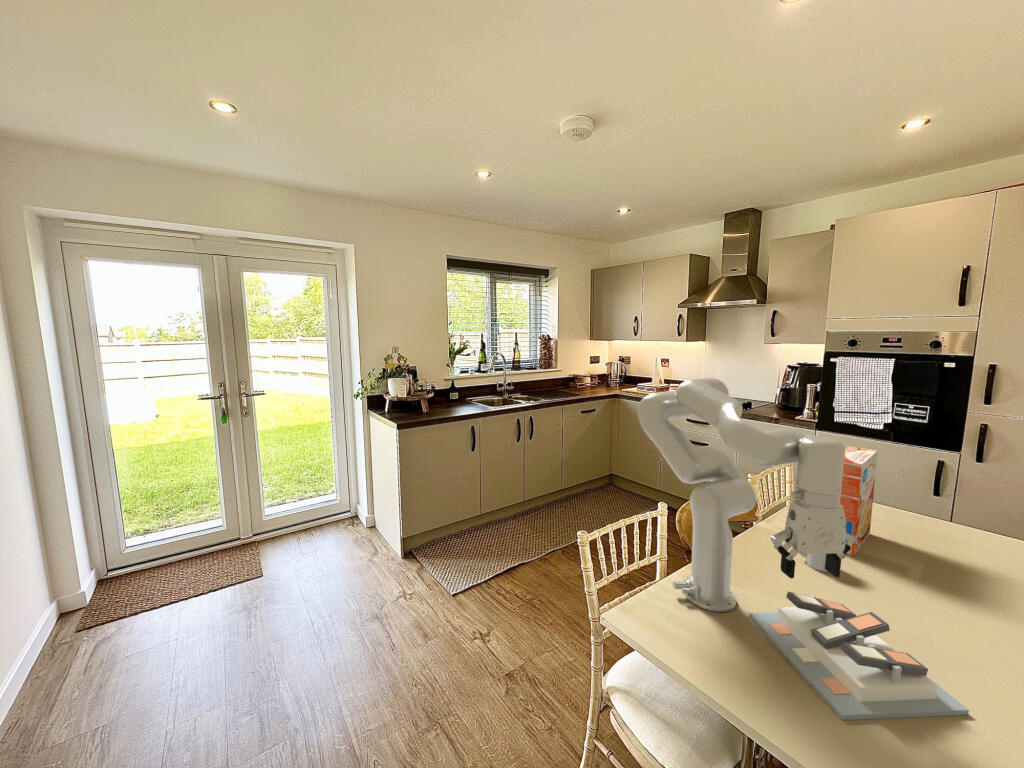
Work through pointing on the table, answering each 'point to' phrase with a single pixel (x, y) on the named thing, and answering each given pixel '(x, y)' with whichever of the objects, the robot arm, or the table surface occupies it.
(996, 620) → the table surface
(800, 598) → the rocker
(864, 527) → the orange cereal box
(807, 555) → the cup
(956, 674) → the table surface
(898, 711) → the switch unit
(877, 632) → the rocker
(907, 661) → the rocker
